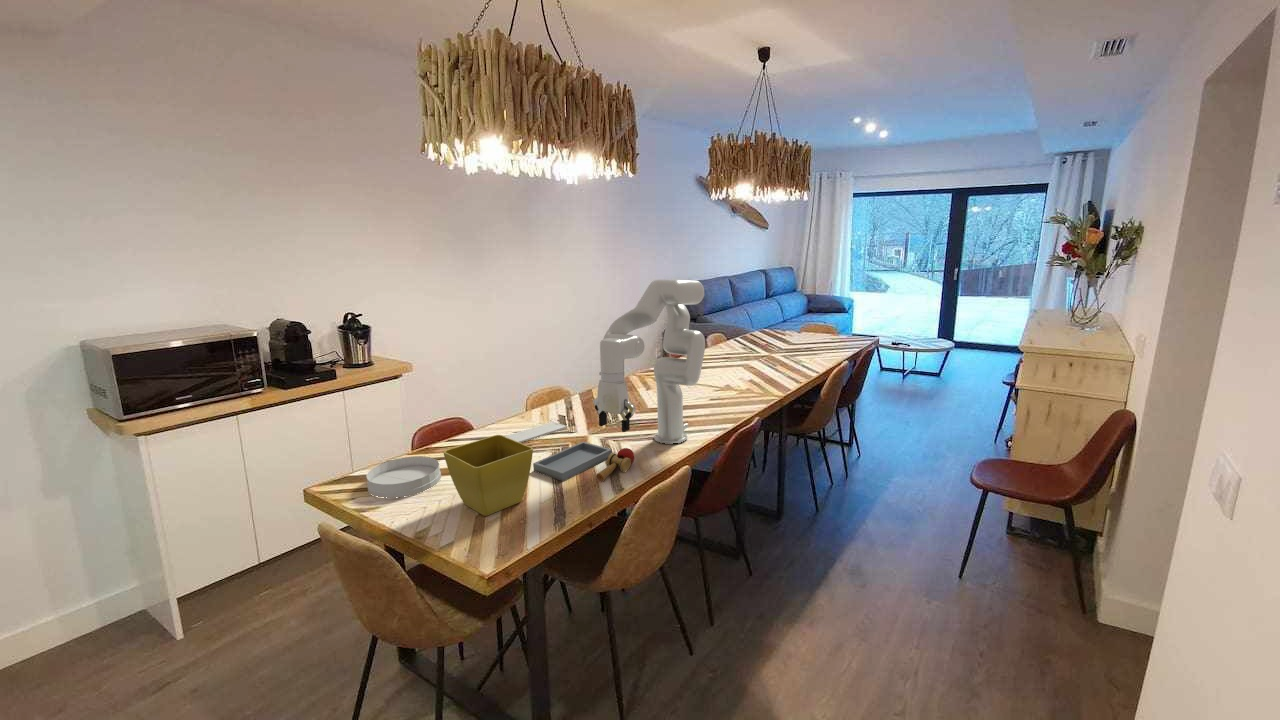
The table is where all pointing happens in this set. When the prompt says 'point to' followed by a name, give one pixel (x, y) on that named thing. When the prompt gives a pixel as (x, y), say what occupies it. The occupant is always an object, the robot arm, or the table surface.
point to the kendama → (617, 463)
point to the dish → (403, 477)
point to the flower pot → (490, 472)
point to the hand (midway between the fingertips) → (614, 428)
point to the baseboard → (536, 431)
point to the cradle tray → (572, 461)
